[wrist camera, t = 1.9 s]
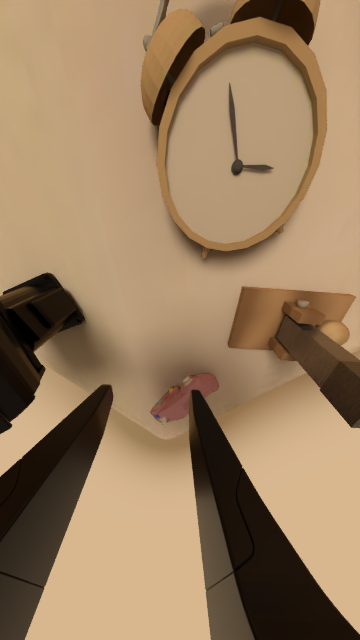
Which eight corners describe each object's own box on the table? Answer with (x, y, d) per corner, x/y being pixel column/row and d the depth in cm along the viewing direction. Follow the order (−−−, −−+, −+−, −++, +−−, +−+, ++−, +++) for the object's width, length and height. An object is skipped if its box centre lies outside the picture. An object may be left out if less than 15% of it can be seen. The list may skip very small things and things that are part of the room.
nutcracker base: (227, 343, 23) (236, 364, 19) (242, 286, 19) (256, 299, 16) (317, 349, 23) (341, 371, 20) (349, 294, 19) (386, 309, 16)
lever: (275, 337, 21) (351, 427, 11) (285, 314, 19) (381, 396, 10) (291, 338, 21) (379, 428, 12) (302, 315, 19) (414, 398, 10)
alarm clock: (185, 271, 16) (75, -83, 7) (182, 254, 20) (110, 16, 10) (315, 229, 14) (413, -328, 5) (284, 219, 18) (305, -102, 9)
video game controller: (203, 357, 26) (191, 379, 20) (222, 381, 26) (216, 411, 19) (160, 388, 30) (138, 416, 23) (177, 410, 29) (159, 444, 23)
